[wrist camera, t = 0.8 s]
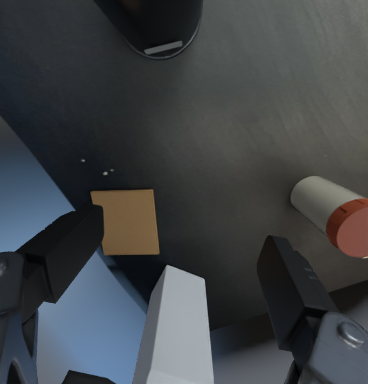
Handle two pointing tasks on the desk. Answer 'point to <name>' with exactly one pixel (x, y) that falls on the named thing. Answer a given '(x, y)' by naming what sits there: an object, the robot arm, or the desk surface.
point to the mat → (128, 221)
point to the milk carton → (176, 333)
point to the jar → (319, 199)
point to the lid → (350, 228)
